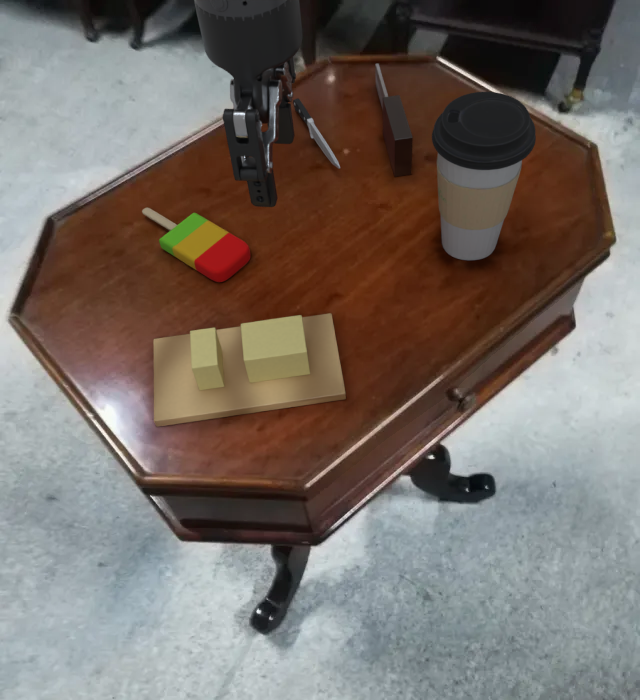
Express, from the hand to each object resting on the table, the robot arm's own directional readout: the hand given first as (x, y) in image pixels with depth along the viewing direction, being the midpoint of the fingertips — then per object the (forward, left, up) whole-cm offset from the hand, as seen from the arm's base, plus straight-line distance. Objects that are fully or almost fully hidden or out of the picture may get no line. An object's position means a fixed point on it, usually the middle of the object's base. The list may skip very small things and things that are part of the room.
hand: (274, 171), depth 67 cm
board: (+5, +11, -14) cm, 19 cm away
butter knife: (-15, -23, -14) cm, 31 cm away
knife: (-6, -22, -14) cm, 27 cm away
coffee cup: (-20, -2, -14) cm, 24 cm away
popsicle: (+10, -8, -14) cm, 20 cm away
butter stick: (+2, +11, -13) cm, 17 cm away
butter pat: (+9, +11, -13) cm, 19 cm away
